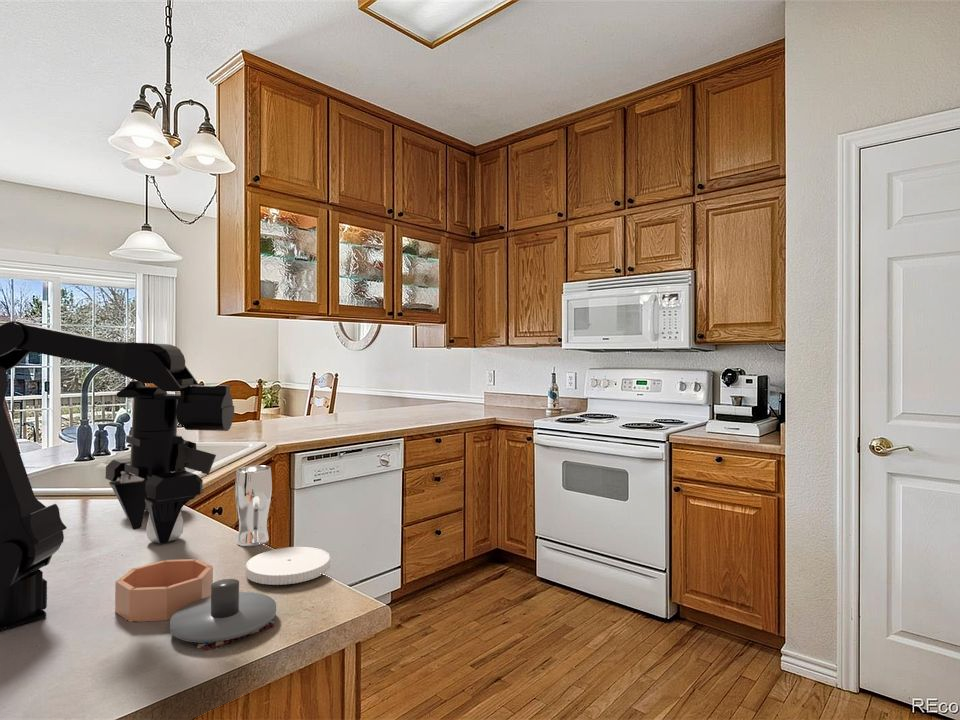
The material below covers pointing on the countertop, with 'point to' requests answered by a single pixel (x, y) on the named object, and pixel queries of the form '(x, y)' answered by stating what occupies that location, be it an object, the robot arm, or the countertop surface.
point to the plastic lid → (287, 565)
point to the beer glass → (253, 504)
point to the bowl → (162, 589)
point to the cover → (223, 614)
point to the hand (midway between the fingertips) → (149, 535)
